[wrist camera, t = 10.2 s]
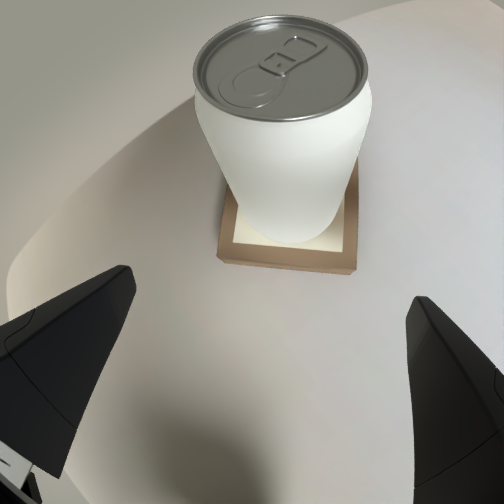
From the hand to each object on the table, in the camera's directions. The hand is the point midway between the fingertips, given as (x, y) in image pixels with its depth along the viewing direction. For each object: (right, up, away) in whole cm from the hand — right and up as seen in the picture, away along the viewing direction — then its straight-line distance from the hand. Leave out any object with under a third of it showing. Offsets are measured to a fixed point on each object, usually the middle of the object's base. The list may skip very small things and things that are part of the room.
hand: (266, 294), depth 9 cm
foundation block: (+3, +4, +13) cm, 14 cm away
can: (+2, +5, +11) cm, 12 cm away
